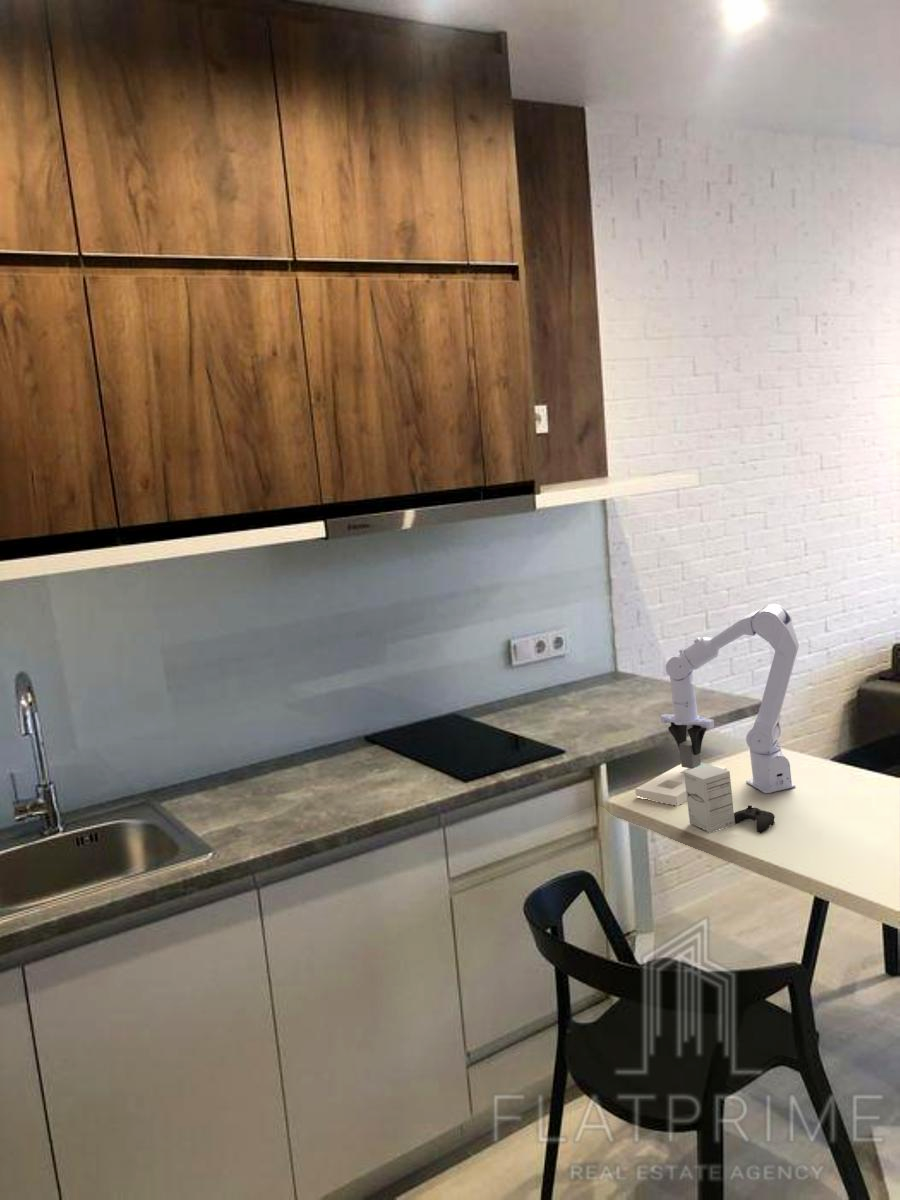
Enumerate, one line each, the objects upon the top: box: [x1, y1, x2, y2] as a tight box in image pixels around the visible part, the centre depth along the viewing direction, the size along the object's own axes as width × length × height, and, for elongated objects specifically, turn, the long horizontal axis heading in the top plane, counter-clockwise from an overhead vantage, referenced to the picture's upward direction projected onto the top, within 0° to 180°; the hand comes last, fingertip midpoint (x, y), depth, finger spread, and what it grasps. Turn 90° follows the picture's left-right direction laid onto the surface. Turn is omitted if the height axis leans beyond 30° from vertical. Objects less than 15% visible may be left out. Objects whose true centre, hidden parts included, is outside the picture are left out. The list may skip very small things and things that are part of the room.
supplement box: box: [684, 763, 736, 833], centre depth 207 cm, size 7×7×13 cm
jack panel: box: [635, 762, 728, 807], centre depth 233 cm, size 22×12×3 cm, turn 132°
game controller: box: [734, 805, 776, 834], centre depth 205 cm, size 10×5×6 cm
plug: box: [678, 739, 702, 769], centre depth 235 cm, size 4×3×6 cm
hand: (690, 752), depth 235 cm, fingers closed on plug, 3 cm apart
